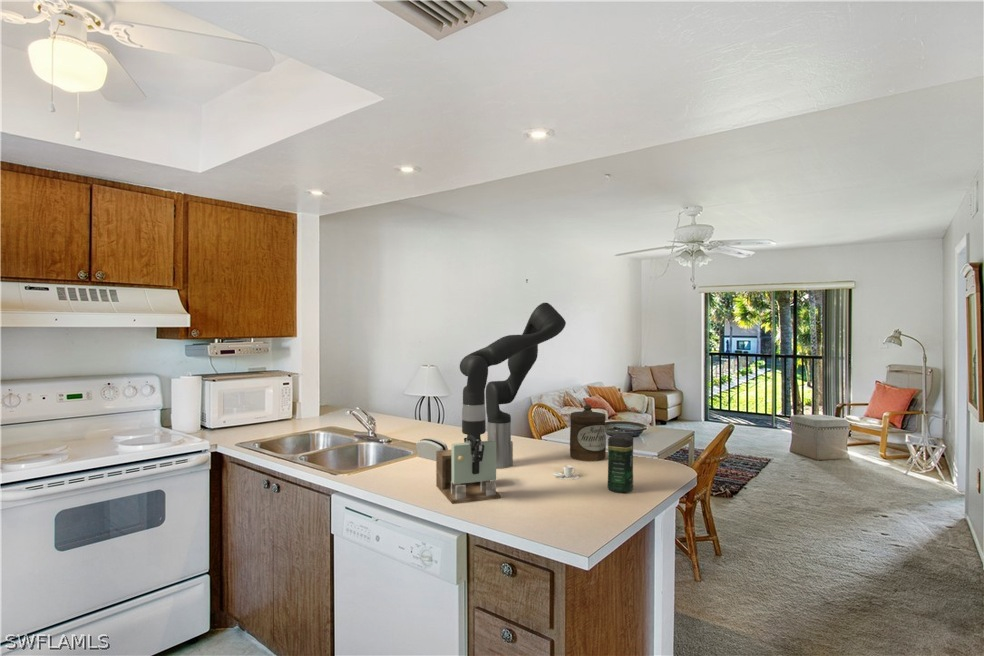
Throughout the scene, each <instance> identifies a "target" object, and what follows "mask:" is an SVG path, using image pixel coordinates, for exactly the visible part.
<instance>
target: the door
mask: <svg viewBox="0 0 984 656" xmlns="http://www.w3.org/2000/svg"><path fill="white" fill-rule="evenodd" d="M481 441H482V445H483V444H484V453H483V459H482V461H480V462H479V474H473V473H472V455H471V454H470V444H469V443H464V442H457V443H455V442H454V443H451V444H450V445H451V449H450V450H451V457H452V483H453V484H462V483H471V482H481V481H490V482H491V481H497V468H496V442H495V441H493V440H492V441H488V440H481ZM473 452H475V451H473ZM477 458H478V456H477Z"/></svg>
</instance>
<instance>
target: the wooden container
mask: <svg viewBox="0 0 984 656" xmlns="http://www.w3.org/2000/svg"><path fill="white" fill-rule="evenodd" d="M592 408H593V407H592V405H590V404H585V405H584V406H583V410H582V411H574V412H571V413H570V414H569V415H570V416H569V419H570V420H569V421H570V423H569V425H570V426H569V429H570V430H569V431H570V433H569V457H570V458H572V459H573V460H577V461H583V462H599V461H603V460H605V459H606V458H607V455H606V454H607V453H606V452H607V450H606V448H607V439H606V438H607V437H606V430H607V429H606V414H605V413H603V412H597V411H593V410H592Z"/></svg>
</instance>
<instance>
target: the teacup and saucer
mask: <svg viewBox="0 0 984 656" xmlns="http://www.w3.org/2000/svg"><path fill="white" fill-rule="evenodd" d="M573 470H574V471H573ZM575 473H576V468H575V467H573V466H572V465H564V466H563V473H562V472H558V471H557V472H554V473H553V476H554V477H555V478H558V479H561V480H567V481H568V480H569V481H574V480H578V479H579V478H580V477H579V475H577V474H575ZM572 476H574V478H571V477H572Z"/></svg>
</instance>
